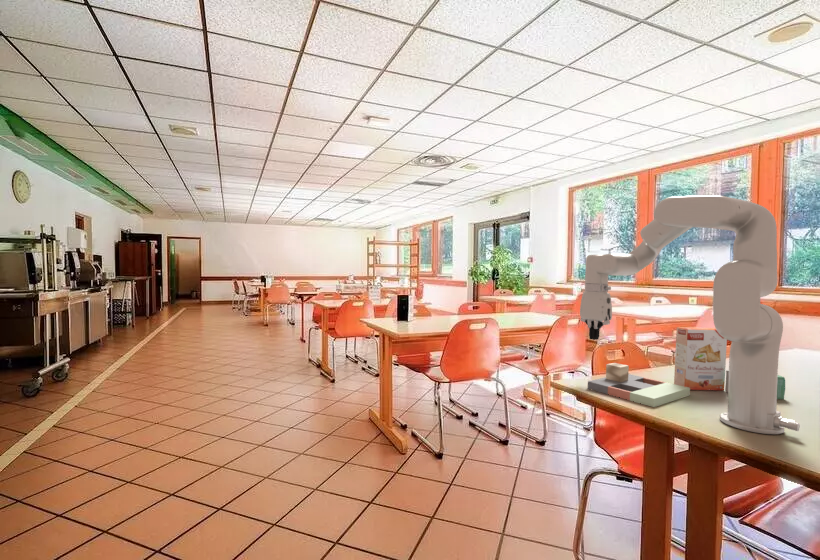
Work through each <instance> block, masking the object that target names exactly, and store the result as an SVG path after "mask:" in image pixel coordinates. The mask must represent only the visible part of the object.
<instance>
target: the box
mask: <svg viewBox="0 0 820 560" xmlns="http://www.w3.org/2000/svg"><path fill="white" fill-rule="evenodd" d="M728 381H729V370H728V369H727V370H726V369H725V385H724V391H725V392H726V393H728ZM785 393H786V378H785V377H784V376H782V375H779V374H778V378H777V400H785Z"/></svg>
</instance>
